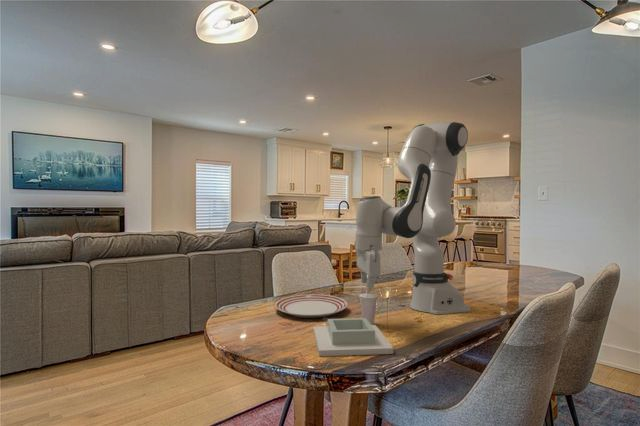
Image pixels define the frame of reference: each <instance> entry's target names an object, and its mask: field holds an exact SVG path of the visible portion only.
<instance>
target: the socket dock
mask: <svg viewBox="0 0 640 426" xmlns="http://www.w3.org/2000/svg"><path fill="white" fill-rule="evenodd" d="M312 331H313V335H314V340H315V344H316V348H317V354H318V356H319V357H334V356H335V357H336V356H338V357H340V356H361V355H362V356H363V355H364V356H365V355H367V356H368V355H390V354H391V355H393V354H394V347H393V346H392V344H391V342H390V341H389V340H388V339H387V338H386V337H385V335H384V334H383V333H382V331H381V330H380V329H379V328H378V326H377V325H376V324H374V325H371V324H370V323H369V322H368V320H367V319H366V318H362V317H358V318H357V317H356V318H327V325H326V326H325V325H324V326H323V325H321V326H320V325H319V326H313V330H312Z"/></svg>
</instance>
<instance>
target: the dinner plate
mask: <svg viewBox="0 0 640 426" xmlns="http://www.w3.org/2000/svg"><path fill="white" fill-rule="evenodd" d="M274 307H275V308H276V309H277V310H278V311H280V312H282V313H285V314H288V315H291V316H294V317H298V318H307V319H308V318H310V319H311V318H324V317H328V316H331V315H335V314H337V313H340V312H341V311H343V310H344V309H346V308H347V307H348V302H347V301H346V300H345V299H343V298H341V297H338V296H335V295H330V294H329V295H328V294H313V293H312V294H310V293H309V294H297V295H292V296H291V295H290V296H287V297H284V298H281V299H279V300H278V301H276V302H275V304H274Z"/></svg>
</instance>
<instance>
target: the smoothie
mask: <svg viewBox="0 0 640 426" xmlns="http://www.w3.org/2000/svg"><path fill="white" fill-rule="evenodd" d="M367 283H368V281H367V282H366V283H365V293H360V294H359V295H358V299H359V304H360V309H361V311H360V312H361V318H366V319H367V320H368V322H369V323H370V324H371V325H375V319H376V311H377V303H378V302H377V301H378V299H379V296H378V295H377V294H375V293H369V291H368V289H369V288H368V287H367Z"/></svg>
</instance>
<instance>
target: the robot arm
mask: <svg viewBox="0 0 640 426" xmlns="http://www.w3.org/2000/svg"><path fill="white" fill-rule="evenodd" d="M468 138H469V132H468V129H467V127H466V125H465V124H464V123H461V122H457V121H453V122H447V121H441V122H440V121H437V122H432V123H431V122H430V123H426V124H425V123H420V124H417V125H415V126H413V128H412V129H411V131H410V133H409V135H408V136H407V138H406V139H405V141H404V143H403V145H402V148H401V150H400V153H399V156H398V157H397V163H396V165H397V168H398V171H399V172H400V174H401V175H403V176H404V177H405V178H407V179H408V180H410V186H409V189H408V190H409V191H408V194H407V198H406V202H405V203H404V204H403V205H402V206H397V207H396V206H392V205H390V204H389V203H386V202H385V201H384V200H383V199H382V197H381V196H378V195H374V196H373V195H371V196H365V197H362V198H360V199H359V200H358V202H357V205H356V215H355V216H356V217H355V224H356V232H355V240H354V249H355V255H356V257H355V259H356V267H357V268H358V269H360V278H361V279H360V282H361V283H362V284H366V282H368V283H367V287H368V289H369V290H373V289H374V287H375V286H374V285H375V281H376V277H380V274H381V254H380V252H378V251H382V245H383V234H384V235H388V236H389V235H390V236H397V237H401V238H405V239H411V242H412V243H411V244H412V247H413V255H414V256H413V260H414V261H413V264H414V266H413V267H414V268H413V269H414V270H413V272H412V285H413V289H412V296H411V301H410V304H409V308H411V309H413V310H415V311H418V312H419V311H420V312H425V313H430V314H434V315H446V314H455V313H467V312H471V307H470V306H469V305H468V304H466V303H465V301H464V300H465V299H464V295H463V293H462V292H461V291H460V290H458V288H456V287H455V286H454V285H452V284H451V283H450V282H449V281H452V280H453V279H454V275H453V274H450V273H446V272H444V268H445V267H444V265H445V264H444V263H445V262H444V261H445V259H444V258H445V257H444V250H443V249H442V247H441V245H440V243H439V239H438V238H443V237H444V238H445V237H447V236H449V235H451V234H452V233H453V232H454V231H455V228H456V225H457V223H456V218H455V216H454V215H453V212H452V193H453V188H454V186H455V185H454V184H455V180H456V175H457V169H458V158H459V157H458V155H459V154H460V153H461V151H462V150H464V148H465V146H466V145H467V142H468Z"/></svg>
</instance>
